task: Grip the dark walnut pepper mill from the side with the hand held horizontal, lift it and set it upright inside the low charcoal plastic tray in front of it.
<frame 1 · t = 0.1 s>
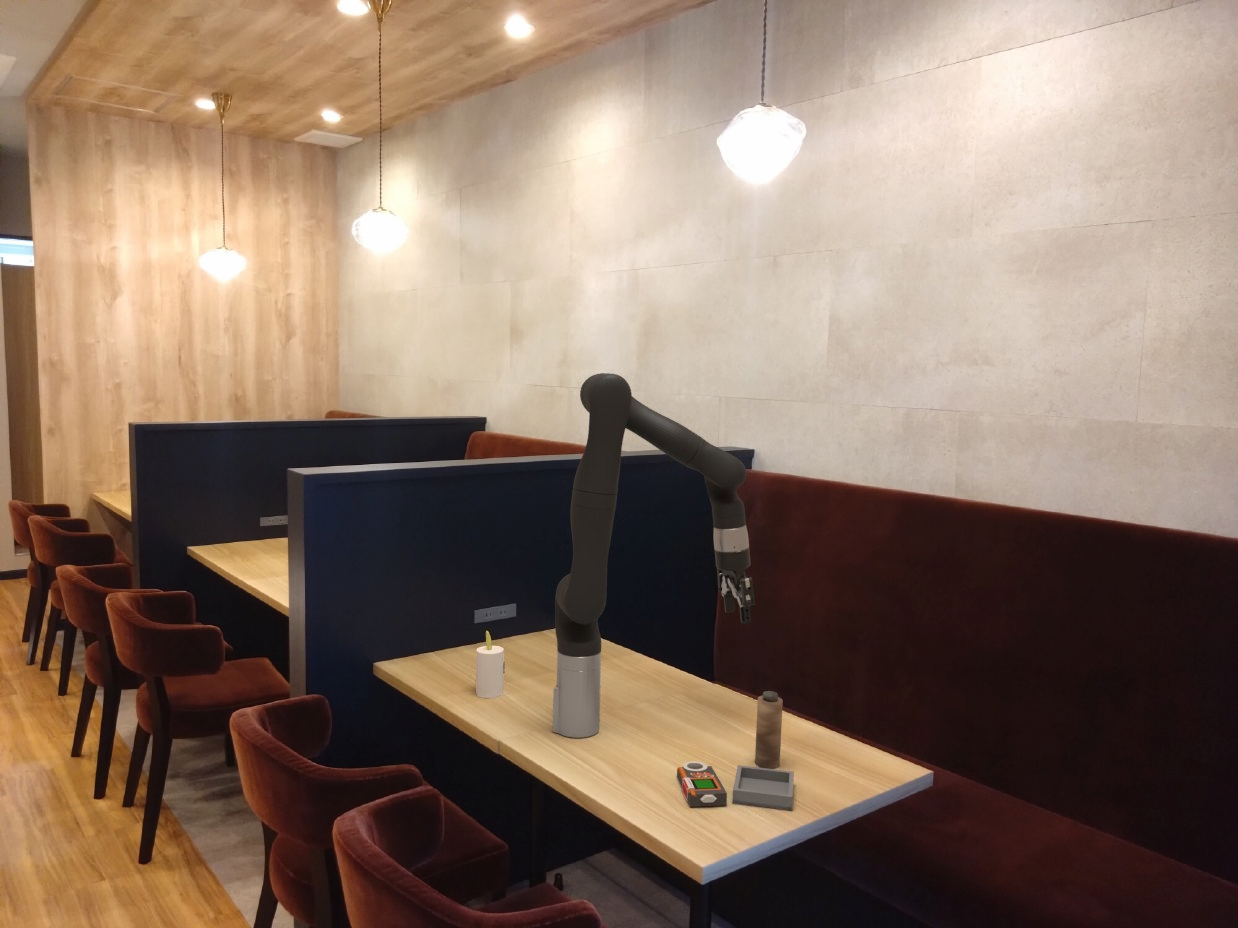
hand: (738, 617, 199), 22 cm above the table, tool pointing down, fingers open, 8 cm apart
pepper mill: (767, 763, 177), on the table
candle: (490, 694, 211), on the table
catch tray: (763, 793, 165), on the table
electronic device: (699, 791, 166), on the table
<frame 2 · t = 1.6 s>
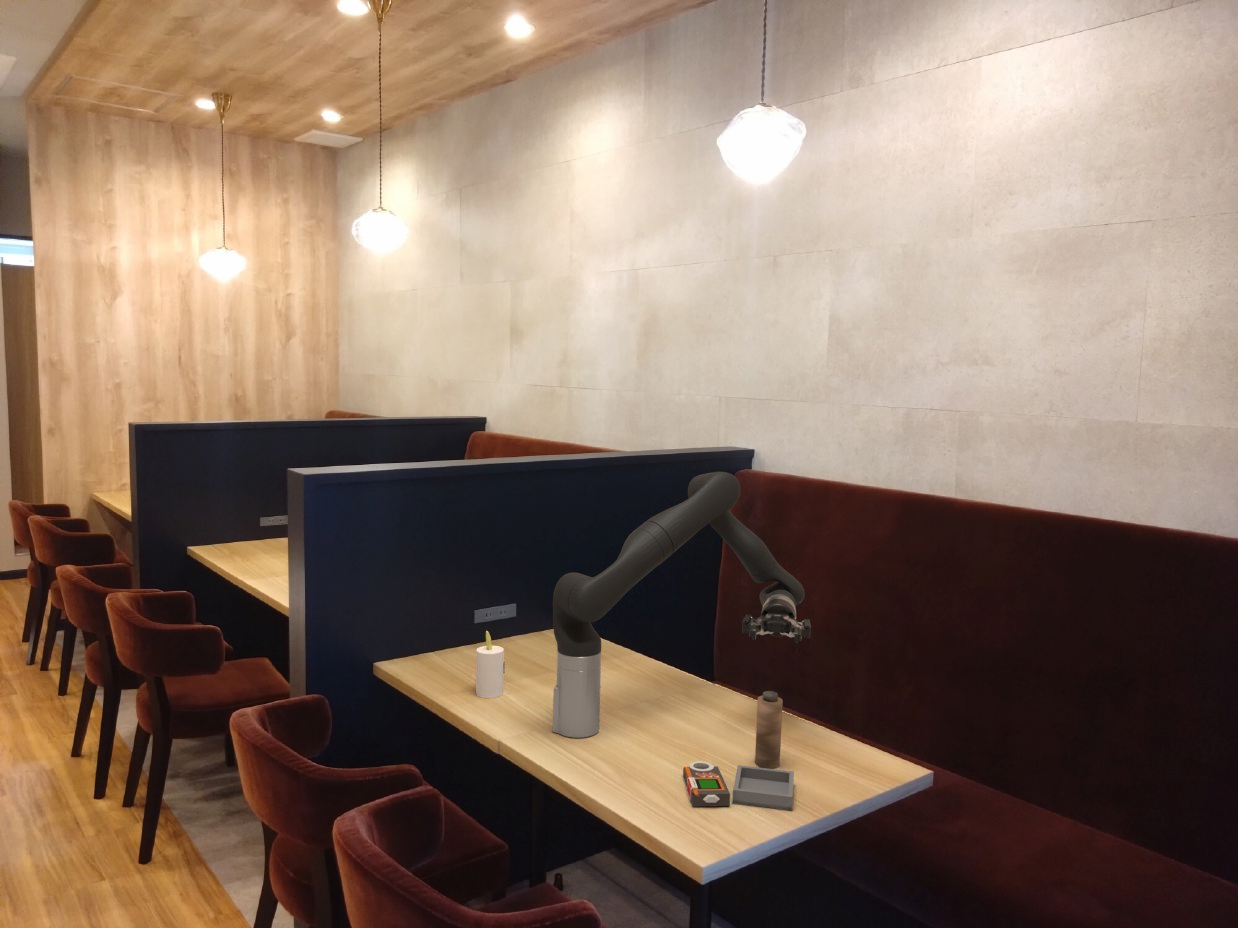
hand: (774, 636, 186), 22 cm above the table, tool horizontal, fingers open, 8 cm apart
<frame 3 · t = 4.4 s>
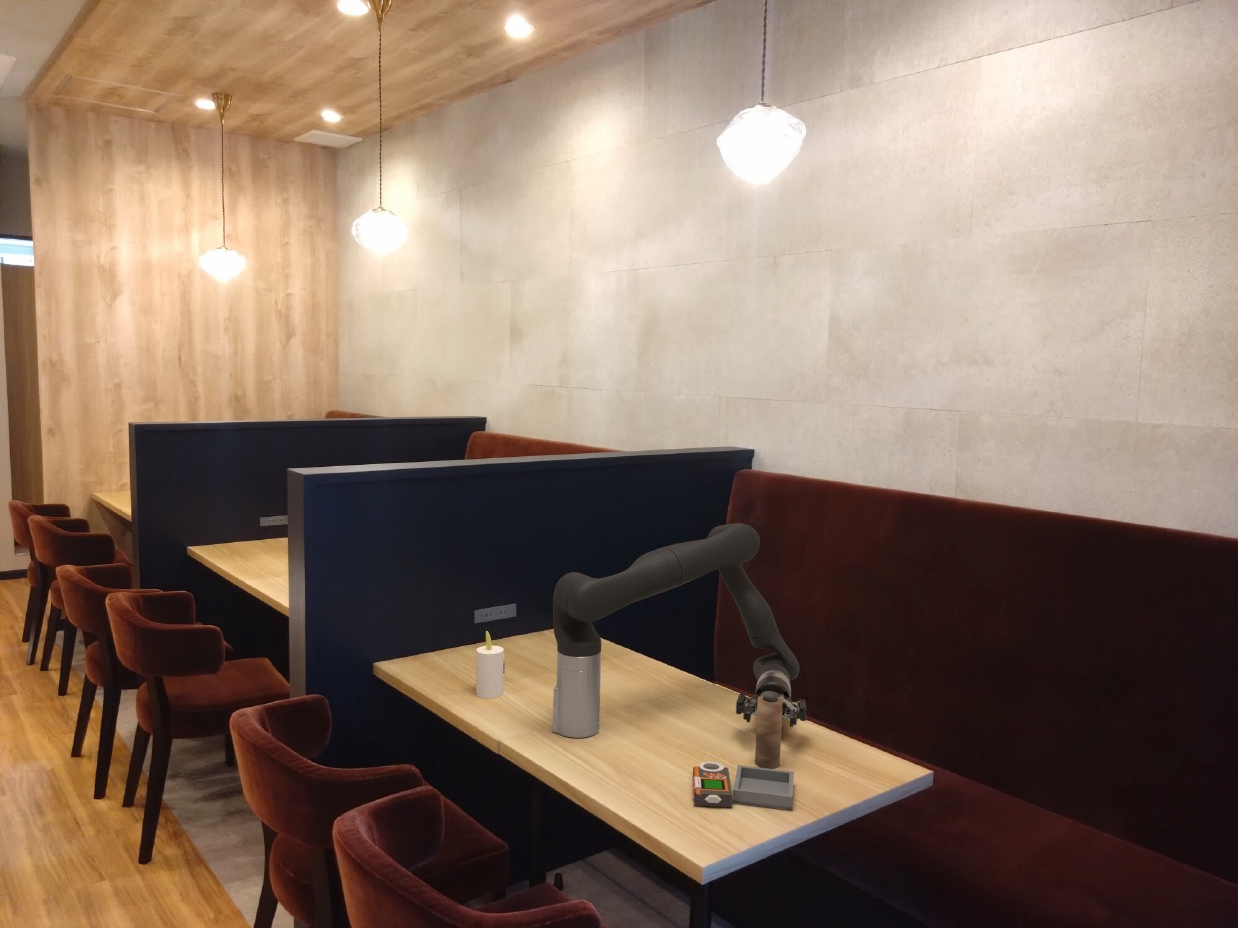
hand: (769, 719, 181), 7 cm above the table, tool horizontal, fingers open, 8 cm apart
electronic device: (711, 791, 166), on the table
everything else where it was.
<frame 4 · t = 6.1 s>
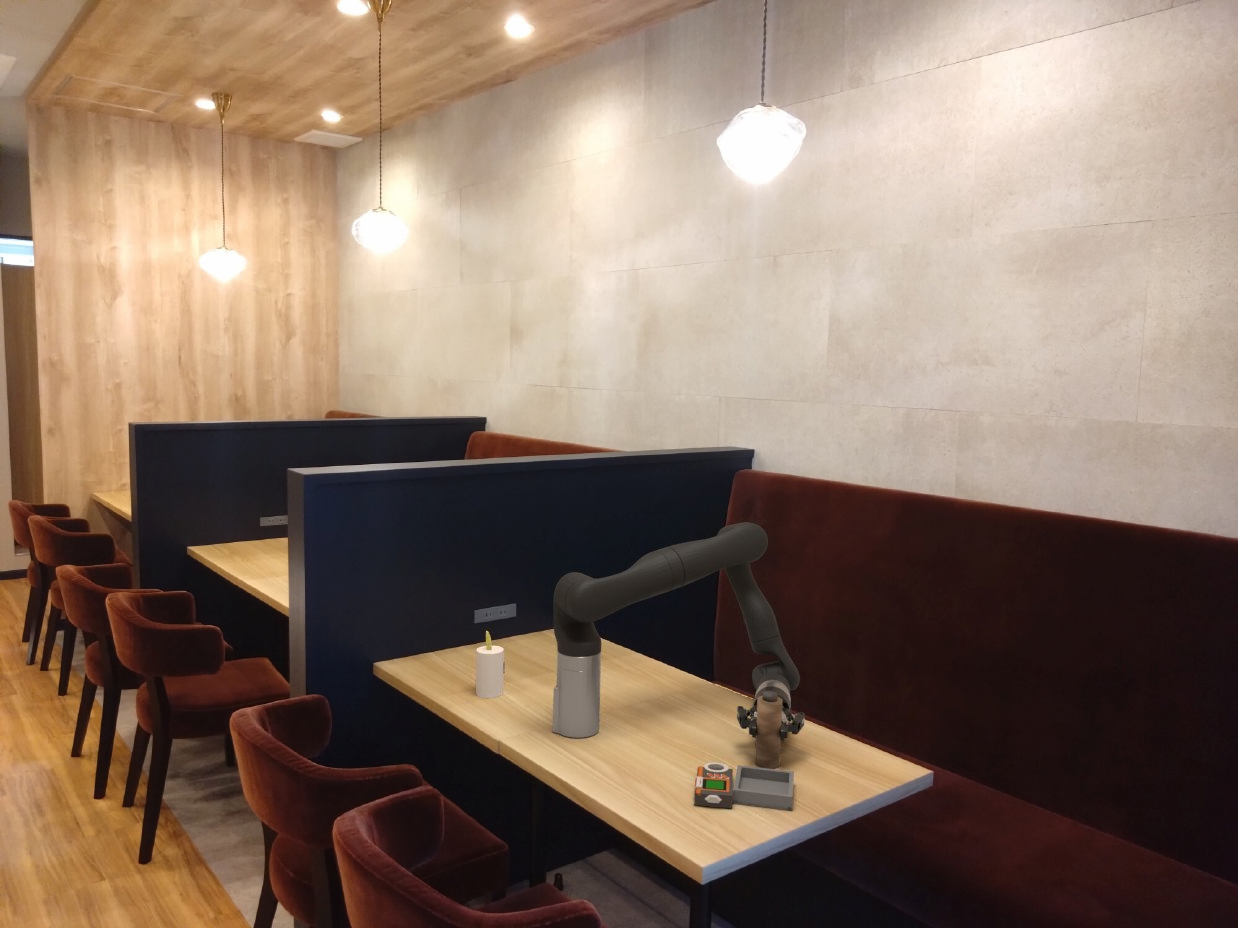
hand: (768, 734, 174), 7 cm above the table, tool horizontal, fingers closed on pepper mill, 4 cm apart
pepper mill: (767, 763, 177), on the table, touching gripper
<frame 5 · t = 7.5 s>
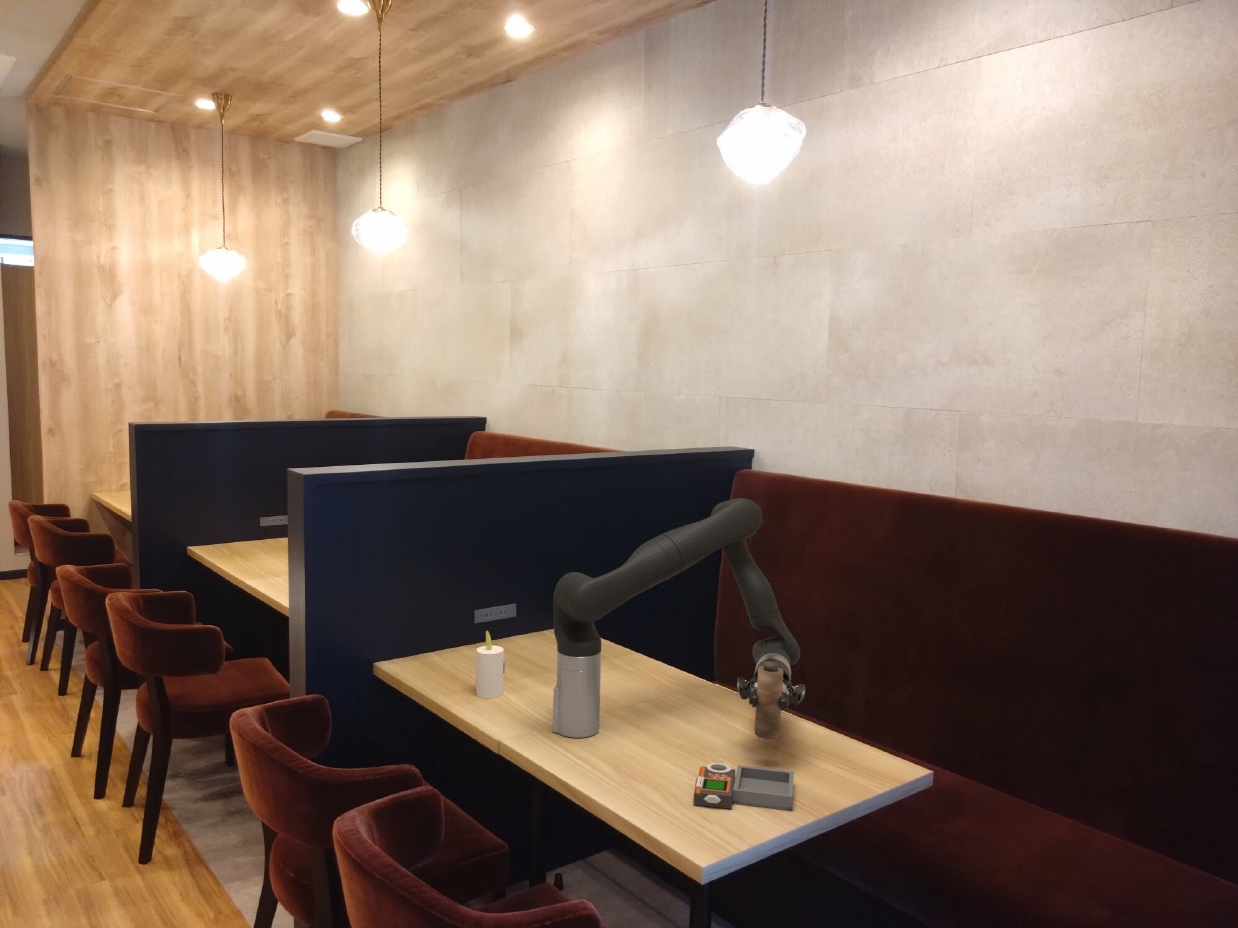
hand: (768, 703, 173), 13 cm above the table, tool horizontal, fingers closed on pepper mill, 4 cm apart
pepper mill: (766, 733, 176), point 6 cm above the table, touching gripper
everything else where it was.
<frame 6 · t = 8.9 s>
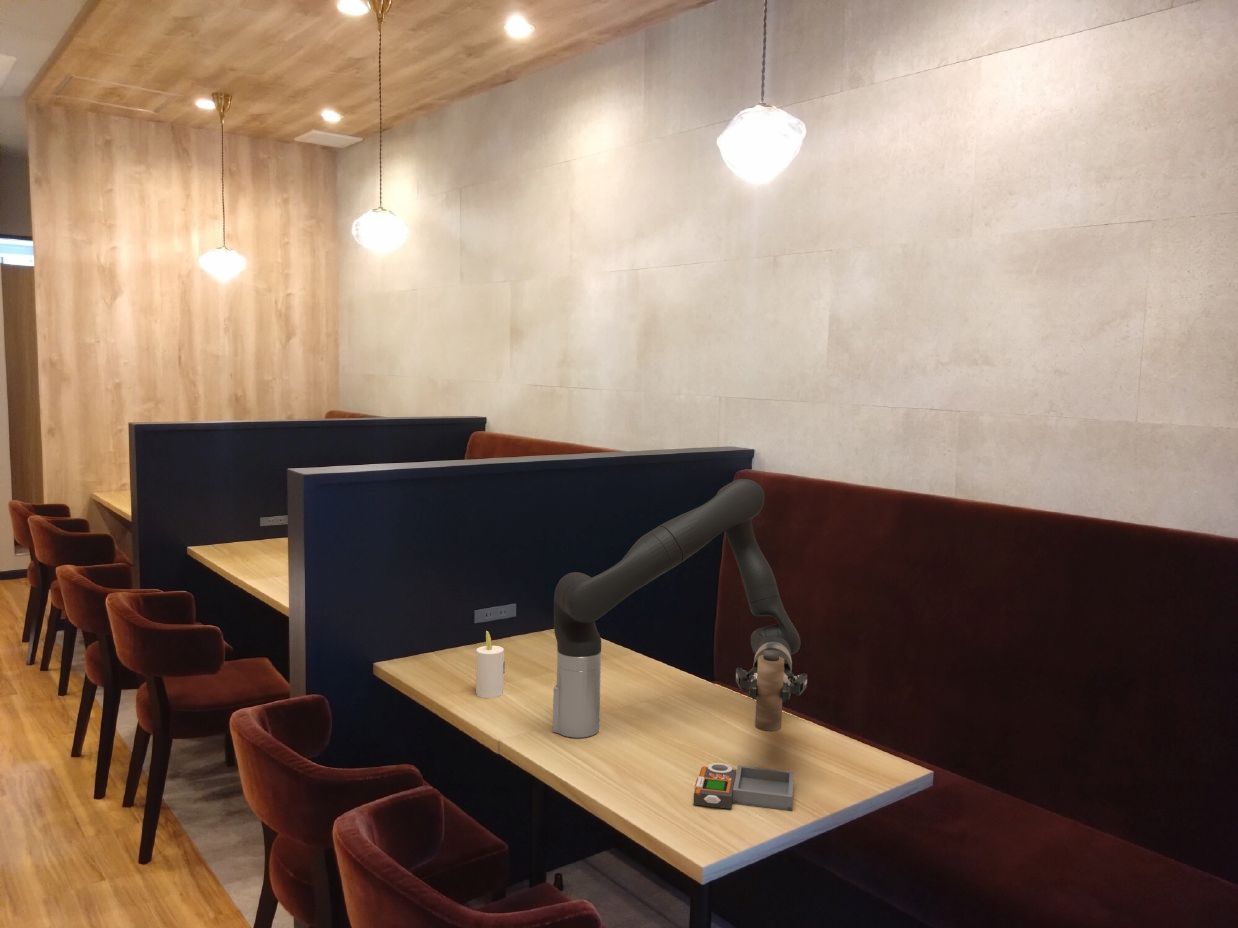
hand: (769, 695, 165), 18 cm above the table, tool horizontal, fingers closed on pepper mill, 4 cm apart
pepper mill: (768, 726, 168), point 11 cm above the table, touching gripper
everything else where it was.
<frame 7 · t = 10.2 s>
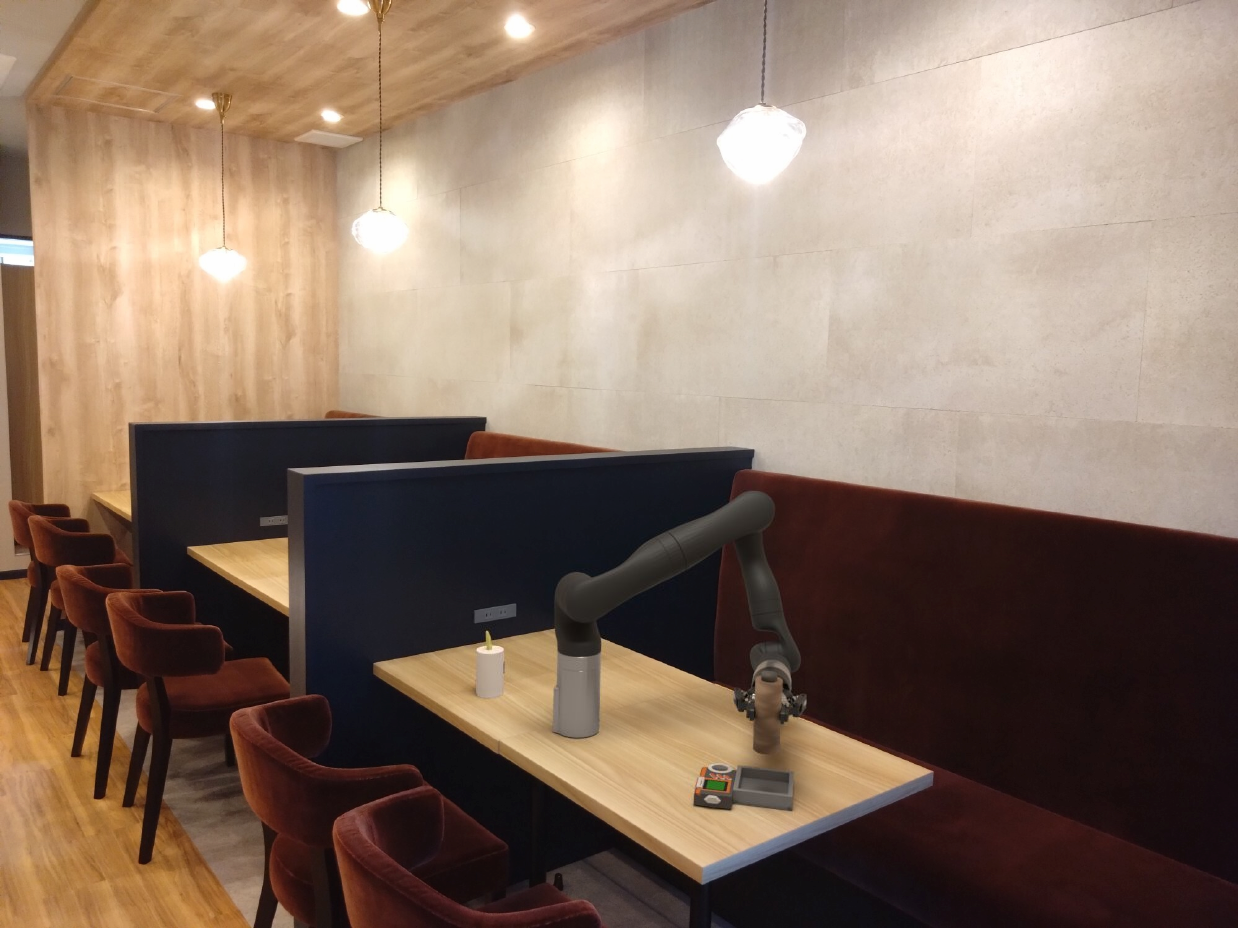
hand: (767, 717, 161), 15 cm above the table, tool horizontal, fingers closed on pepper mill, 4 cm apart
pepper mill: (766, 748, 164), point 8 cm above the table, touching gripper
everything else where it was.
when the fingers open (8 cm above the table, at t = 12.1 s): pepper mill stays where it is, resting on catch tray.
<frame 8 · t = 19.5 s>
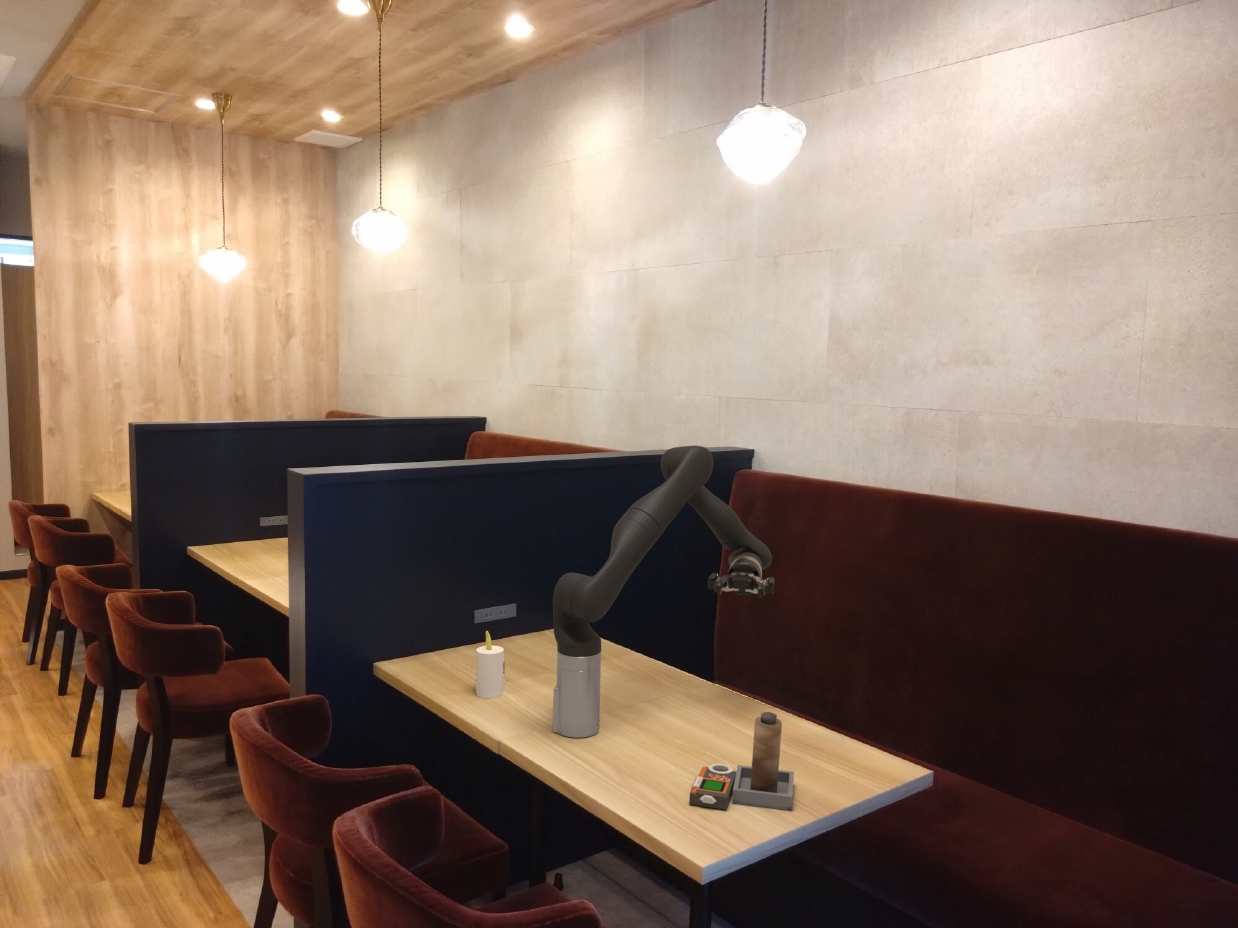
hand: (739, 591, 191), 30 cm above the table, tool horizontal, fingers open, 8 cm apart
pepper mill: (763, 789, 165), point 1 cm above the table, touching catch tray
at the end: pepper mill 0.1 cm off-centre on the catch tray, point 0.7 cm above the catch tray's base; pepper mill tilted 1°; the gripper is holding nothing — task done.
